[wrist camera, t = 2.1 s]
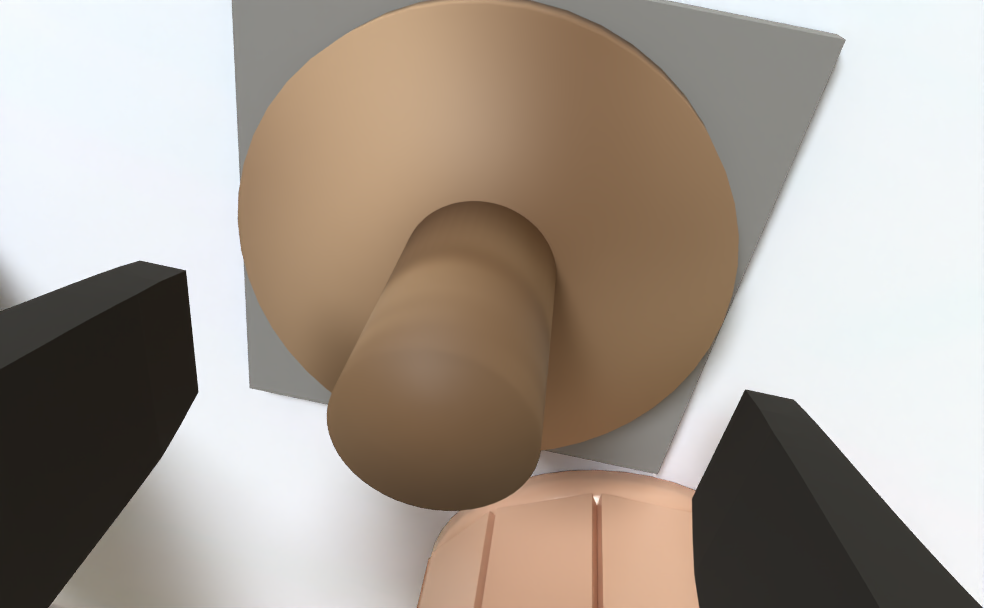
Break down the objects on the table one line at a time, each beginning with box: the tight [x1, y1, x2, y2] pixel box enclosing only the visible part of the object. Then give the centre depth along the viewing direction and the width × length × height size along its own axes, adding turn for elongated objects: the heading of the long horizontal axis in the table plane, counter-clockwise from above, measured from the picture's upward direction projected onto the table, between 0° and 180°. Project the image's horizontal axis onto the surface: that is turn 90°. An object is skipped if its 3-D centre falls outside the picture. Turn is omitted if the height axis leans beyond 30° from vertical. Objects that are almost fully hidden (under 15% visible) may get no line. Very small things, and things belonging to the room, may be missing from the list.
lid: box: [238, 0, 739, 511], centre depth 10 cm, size 8×8×5 cm
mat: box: [232, 0, 845, 474], centre depth 12 cm, size 9×9×1 cm
